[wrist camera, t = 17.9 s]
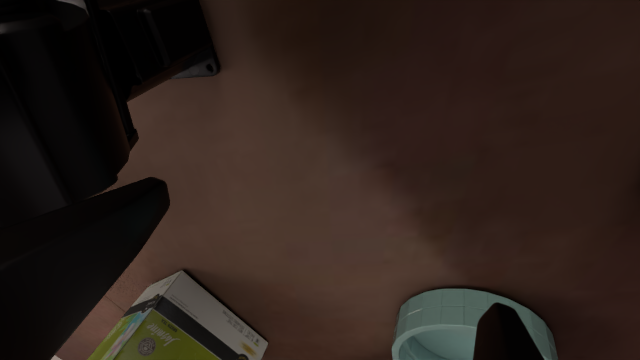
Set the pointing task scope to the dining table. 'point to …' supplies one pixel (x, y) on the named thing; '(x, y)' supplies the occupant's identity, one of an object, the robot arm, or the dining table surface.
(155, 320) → the tea box
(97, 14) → the robot arm
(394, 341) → the pan
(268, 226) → the dining table surface
